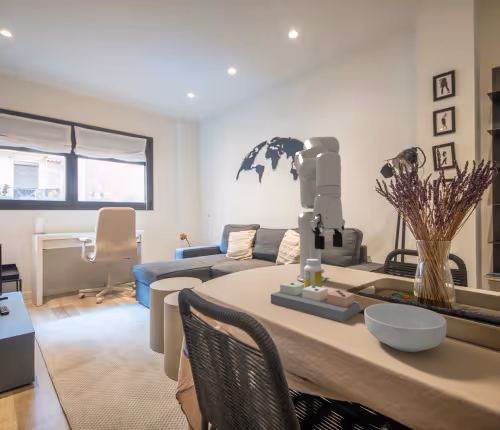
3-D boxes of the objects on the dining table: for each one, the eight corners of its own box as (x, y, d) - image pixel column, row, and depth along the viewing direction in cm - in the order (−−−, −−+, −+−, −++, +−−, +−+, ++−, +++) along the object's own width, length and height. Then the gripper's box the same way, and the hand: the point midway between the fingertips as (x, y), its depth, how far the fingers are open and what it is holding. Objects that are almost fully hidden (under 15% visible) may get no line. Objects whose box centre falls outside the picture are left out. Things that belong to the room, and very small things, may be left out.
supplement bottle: (322, 291, 111) (322, 258, 111) (321, 295, 104) (320, 261, 104) (305, 289, 113) (305, 257, 113) (303, 294, 107) (302, 260, 107)
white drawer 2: (311, 297, 97) (311, 284, 97) (327, 300, 92) (327, 287, 92) (302, 301, 92) (302, 288, 92) (318, 304, 88) (318, 291, 88)
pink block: (336, 302, 90) (336, 289, 90) (354, 306, 86) (354, 292, 86) (327, 307, 86) (327, 293, 86) (345, 311, 82) (345, 296, 82)
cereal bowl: (384, 324, 77) (384, 298, 77) (457, 346, 64) (457, 315, 64) (350, 342, 66) (350, 312, 66) (429, 372, 53) (429, 335, 53)
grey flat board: (294, 294, 106) (294, 286, 106) (362, 309, 88) (362, 300, 88) (270, 302, 96) (270, 294, 96) (343, 322, 78) (343, 311, 78)
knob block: (290, 292, 103) (290, 280, 103) (304, 295, 99) (304, 283, 99) (280, 295, 98) (280, 283, 98) (294, 299, 94) (294, 286, 94)
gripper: (333, 195, 96) (333, 245, 95) (301, 192, 84) (301, 249, 84) (353, 193, 90) (354, 246, 90) (322, 190, 79) (322, 251, 78)
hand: (328, 247), depth 87 cm, fingers open, 9 cm apart
